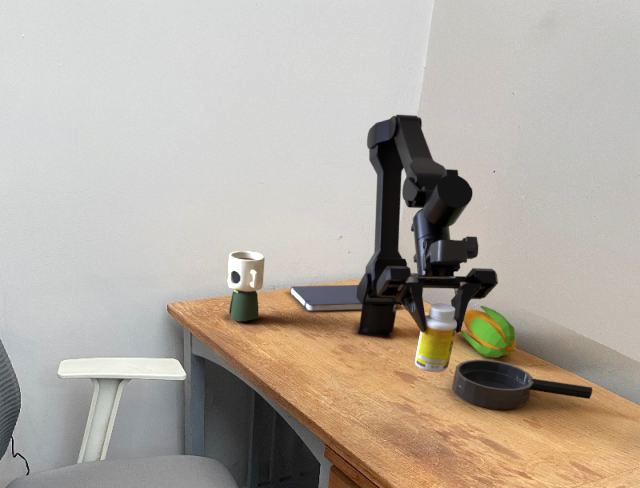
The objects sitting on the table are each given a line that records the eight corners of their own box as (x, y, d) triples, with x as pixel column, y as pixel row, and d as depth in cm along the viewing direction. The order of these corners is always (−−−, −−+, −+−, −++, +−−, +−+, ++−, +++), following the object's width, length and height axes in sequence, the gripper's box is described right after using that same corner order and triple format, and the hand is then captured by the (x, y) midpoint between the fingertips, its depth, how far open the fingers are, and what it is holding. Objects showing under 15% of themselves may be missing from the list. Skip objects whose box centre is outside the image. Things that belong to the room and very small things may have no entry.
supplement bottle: (450, 374, 128) (463, 314, 122) (416, 372, 128) (428, 311, 122) (444, 361, 132) (457, 302, 127) (412, 359, 132) (423, 300, 127)
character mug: (218, 311, 165) (220, 248, 158) (249, 309, 167) (253, 247, 160) (236, 329, 156) (240, 264, 149) (269, 326, 159) (274, 262, 152)
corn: (496, 327, 144) (452, 292, 160) (484, 365, 148) (443, 328, 164) (531, 329, 146) (485, 295, 162) (519, 367, 150) (475, 330, 166)
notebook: (375, 290, 184) (289, 293, 178) (376, 284, 183) (290, 286, 177) (397, 308, 174) (308, 311, 168) (398, 301, 173) (308, 304, 167)
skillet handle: (529, 391, 134) (532, 380, 133) (528, 387, 136) (531, 376, 135) (589, 400, 133) (592, 389, 132) (588, 396, 134) (591, 385, 133)
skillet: (450, 403, 133) (455, 383, 131) (452, 374, 144) (456, 355, 142) (529, 415, 131) (535, 395, 129) (525, 385, 142) (531, 366, 140)
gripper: (393, 213, 119) (401, 308, 116) (508, 217, 122) (519, 310, 119) (372, 250, 130) (379, 338, 127) (478, 254, 133) (487, 340, 130)
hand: (441, 331), depth 125 cm, fingers closed on supplement bottle, 5 cm apart
